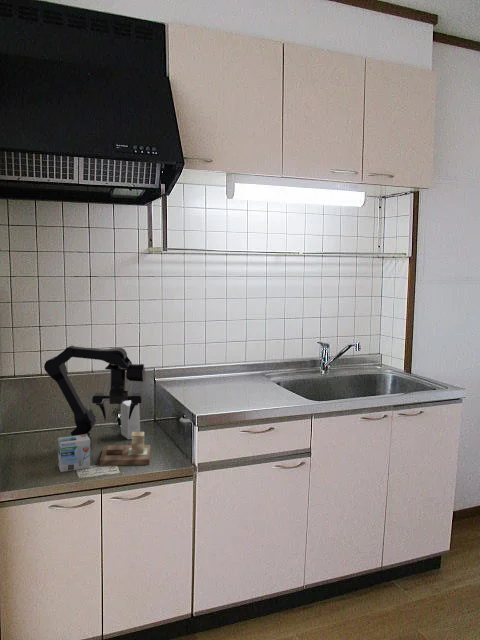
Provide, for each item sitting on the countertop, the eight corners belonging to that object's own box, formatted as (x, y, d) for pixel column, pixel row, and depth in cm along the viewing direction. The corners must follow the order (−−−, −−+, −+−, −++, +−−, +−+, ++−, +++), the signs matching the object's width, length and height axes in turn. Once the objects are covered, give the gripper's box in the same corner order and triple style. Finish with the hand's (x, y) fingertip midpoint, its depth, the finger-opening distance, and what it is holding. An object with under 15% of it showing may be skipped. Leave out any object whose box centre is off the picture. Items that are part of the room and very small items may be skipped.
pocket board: (99, 465, 192) (99, 459, 192) (104, 450, 207) (104, 444, 207) (149, 464, 195) (149, 458, 195) (150, 449, 210) (150, 444, 209)
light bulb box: (60, 472, 185) (60, 443, 184) (57, 465, 191) (57, 437, 190) (91, 468, 190) (91, 439, 189) (87, 461, 196) (87, 433, 195)
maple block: (131, 453, 199) (131, 435, 198) (132, 449, 203) (132, 431, 202) (143, 453, 199) (143, 435, 199) (143, 449, 204) (144, 431, 203)
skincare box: (140, 437, 223) (140, 403, 221) (127, 440, 219) (127, 405, 218) (132, 431, 230) (133, 399, 228) (119, 434, 226) (120, 400, 225)
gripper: (90, 385, 194) (90, 426, 196) (141, 385, 197) (140, 425, 199) (94, 378, 205) (94, 416, 207) (142, 378, 208) (141, 416, 210)
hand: (117, 419), depth 206 cm, fingers open, 9 cm apart
